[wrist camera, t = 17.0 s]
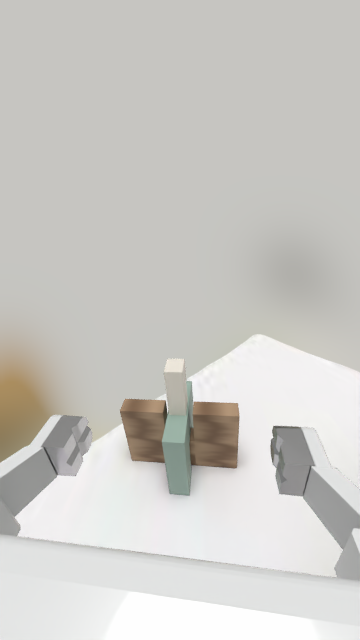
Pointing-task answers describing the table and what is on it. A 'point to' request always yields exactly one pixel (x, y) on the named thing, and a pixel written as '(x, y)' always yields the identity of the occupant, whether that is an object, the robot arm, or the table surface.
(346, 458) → the table surface
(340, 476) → the robot arm
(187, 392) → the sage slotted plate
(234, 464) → the walnut slotted board
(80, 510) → the table surface
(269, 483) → the table surface
